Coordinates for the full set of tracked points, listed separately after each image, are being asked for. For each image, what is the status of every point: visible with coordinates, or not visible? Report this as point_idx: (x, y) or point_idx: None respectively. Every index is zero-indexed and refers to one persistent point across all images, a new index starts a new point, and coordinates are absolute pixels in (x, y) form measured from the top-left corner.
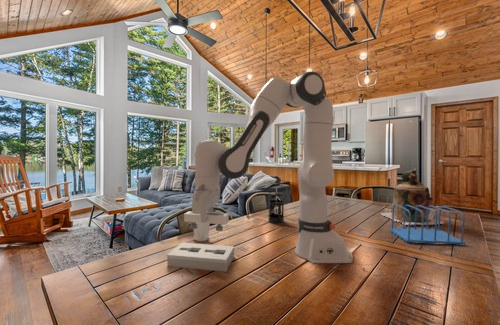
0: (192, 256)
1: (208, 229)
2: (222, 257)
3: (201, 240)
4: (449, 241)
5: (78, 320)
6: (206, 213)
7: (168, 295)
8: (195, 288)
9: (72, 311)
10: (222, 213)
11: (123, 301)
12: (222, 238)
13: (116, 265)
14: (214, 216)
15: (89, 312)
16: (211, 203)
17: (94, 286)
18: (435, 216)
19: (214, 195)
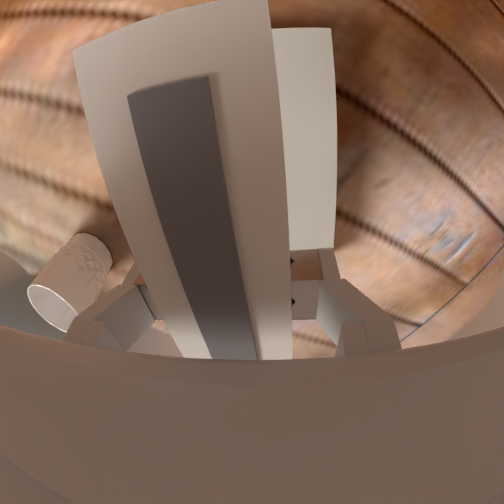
0: (331, 193)
1: (61, 254)
2: (308, 51)
3: (104, 245)
4: None
5: (498, 282)
6: (231, 323)
7: (470, 179)
8: (443, 116)
9: (477, 303)
10: (105, 140)
11: (474, 256)
12: (50, 189)
13: (335, 347)
14: (285, 198)
15: (487, 283)
16: (176, 427)
17: (417, 327)
18: None
19: (7, 458)
